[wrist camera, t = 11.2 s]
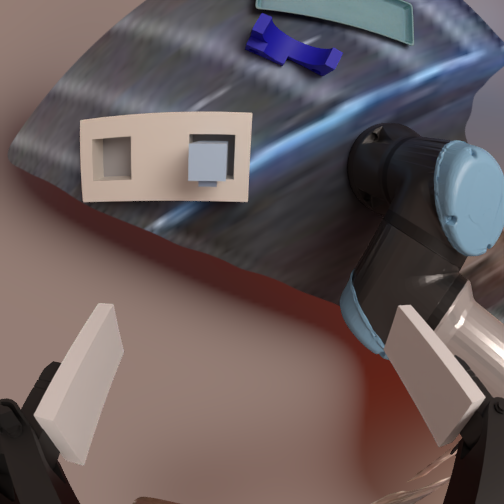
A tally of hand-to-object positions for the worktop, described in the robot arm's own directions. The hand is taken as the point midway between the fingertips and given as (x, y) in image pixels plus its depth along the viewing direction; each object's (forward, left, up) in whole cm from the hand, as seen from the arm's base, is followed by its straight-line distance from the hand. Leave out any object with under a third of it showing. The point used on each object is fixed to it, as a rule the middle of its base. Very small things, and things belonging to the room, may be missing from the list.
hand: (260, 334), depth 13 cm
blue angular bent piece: (-6, -21, -35) cm, 41 cm away
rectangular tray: (-14, -32, -35) cm, 50 cm away
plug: (+4, -5, -34) cm, 34 cm away
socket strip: (+11, -5, -35) cm, 37 cm away
